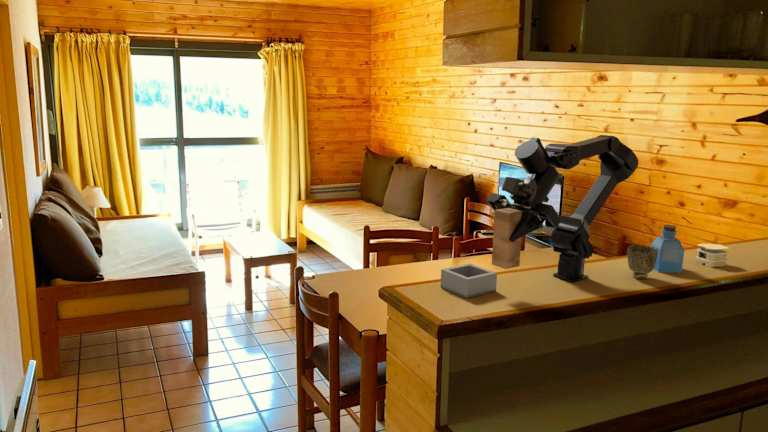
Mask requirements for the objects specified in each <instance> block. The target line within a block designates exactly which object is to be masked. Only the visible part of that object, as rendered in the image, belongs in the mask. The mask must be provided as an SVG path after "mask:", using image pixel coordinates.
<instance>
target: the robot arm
mask: <svg viewBox="0 0 768 432" xmlns="http://www.w3.org/2000/svg"><path fill="white" fill-rule="evenodd" d="M514 156H515V157H516V159H517V160H518V162H519V163H520V165H521V167H522V168H523V170H524V171H525V172H526V174H529V175H530V177H529V178H528V177H526V178H525V179H524V180H523V179H520V178H516V177H511V176H505V179H504V182H503V184H502V186H501V190H502V191H504V192H506V193H508V194H509V198H510V199H511V200H513V202H510V201H509V199H508V198H507V197H506V195H505V194H499V193H490V194H489V195H488V197H487V198H486V200H485V201H486V202H487V204H488V205H489V207H490V208H491V209H492V211H493V212H494V213H495V210H497V209H504V208H511V209H515V210H520V211H523V212H522V218H521V220H520V222H519V223H518V225H517V227H516V228H515V230H514V231H513V233H512V235H511V237H510V241H511V242H513V241H515V240H517V239H519V238H521V239H522V237H524V236H526V235H529V234H530V233H533V232H535V231H536V230H537V231H538V230H539V229H542V230H543V228H544V226H545V228H548V229H549V228H550V229H552V232H551V235H550V239H551V245H552V249H553V252H555V253H559V255H558V256H559V257H558V262H557V263H558V264H557V272H554V273H553V274H552V276H553V277H555V278H559V279H563V280H565V281H569V282H572V283H573V282H578V281H582V280H585V279H588V278H589V275H587V274H584V272H585V259H587V260H588V259H590V258H591V257H592V256H593V254H594V249H595V248H594V246H593V245H592V243H591V242H590V237H591V234H590V233H591V230H590V229H591V227H590V226H591V224H592V222H594V220H595V218H596V217H597V215H598V214H599V213H600V211H601V209H602V208H603V206H604V205H605V203H606V202H607V201H608V199H609V197H610V196H611V194H612V193H613V192H614V190H615V188H616V187H617V185H619V184H620V183H622V182H624V181H626V180H628V179H629V178H631V176H632V175H633V174H634V172H635V171H636V169H638V166H639V159H638V156H637V155H636V153H635V152H634V151H633V150H632V149H631V148H630V147H629V146H627V145H625V144H624V143H623V142H621V140H620V139H619V138H618V137H617V136H615V135H608V134H607V135H605V134H600V135H597V136H595V137H592V138H589V139H585V140H580V141H577V142H573V143H548V144H546V145H545V147H544V145H543V143H542V141H541V139H540V138H539V137H533V136H532V137H531V138H530V139H529V140H526V141H524V142H522V143H520V144H519V145H518V146H517V147H516V148H515V149H514ZM596 156H597V158H598V160H599V161H600V163H599V167H600V168H599V170H600V173H599V175H598V177H597V178H596V180H595V181H594V183H593V184H592V186H591V187H590V189H589V190H588V192H587V193H586V195H585V196H584V198H583V199H582V201H580V203H579V205H578V206H577V208H576V209H575V211H574V212H573V213H572V215H570V216H569V215H565V214H564V215H562V216H560V215H559V213H558V212H557V211H556V209H555V208H554V206H553V205H552V204H548V202H549V200H550V199H549V197H548V196H549V194H550V192H551V191H552V190H553V188H554V187H555V185H559V186H563V185H564V179H563V174H562V173H559V171H558V170H557V169H560V170H565V171H566V170H568V171H569V170H571V169H573V168H575V167H576V166H578V165H579V164H580V162H581V161H583V160H585V159H588V158H592V157H596ZM543 224H544V226H543Z"/></svg>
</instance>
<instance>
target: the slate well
mask: <svg viewBox="0 0 768 432" xmlns="http://www.w3.org/2000/svg"><path fill="white" fill-rule="evenodd" d="M497 281H498V273H497V272H496V271H492V270H491V269H490V270H489V269H487V268H484V267H481V266H479V265H477V264H473V263H471V262H469V263H466V264H461V265H456V266H451V267H446V268H441V269H440V288H441V289H443V290H445V291H447V292H451V293H452V294H455V295H457V296H459V297H462V298H464V299H467V300H468V299H470V298H474V297H475V298H476V297H478V296H483V295H488V294H492V293H495V292H497V284H498V283H497Z"/></svg>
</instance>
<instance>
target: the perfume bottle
mask: <svg viewBox="0 0 768 432" xmlns="http://www.w3.org/2000/svg"><path fill="white" fill-rule="evenodd" d="M676 229H677V226H676V225H674V224H663V228H662V230H661V231H662V232H661V234H662V235H658V236H657V237H656V238H655V239H654V240H653V241H652V243H651V246H650V249H651V248H652V247H654V249H656V248H657V249H658V250H659V252H658V255H657V260H656V264H655V267H654V269H653V270H654V271H655V272H657V271H658V272H657V273H674V272H677V273H679V274H680V273H682V272H683V264H684V256H685V248H684V246H683V245H682V242H681V241H680V239H679V238H676V235H677V230H676Z"/></svg>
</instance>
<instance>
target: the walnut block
mask: <svg viewBox="0 0 768 432" xmlns="http://www.w3.org/2000/svg"><path fill="white" fill-rule="evenodd" d="M522 212H523V211H520V210H515V209H511V208H504V209H497V210H495V212H494V218H493V235H492V236H493V237H492V251H491V252H492V253H491V265H492V266H495V267H499V268H502V269H504V270H508V269H512V268H517V267H520V265H521V264H520V263H521V249H522V247H521V246H522V237H521V238H519V239H517V240H515V241H513V242H511V241H510V237H511V235H512V233H513V231H514V230H515V228H516V227H517V225H518V223H519V222H520V220H521V218H522Z"/></svg>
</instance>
